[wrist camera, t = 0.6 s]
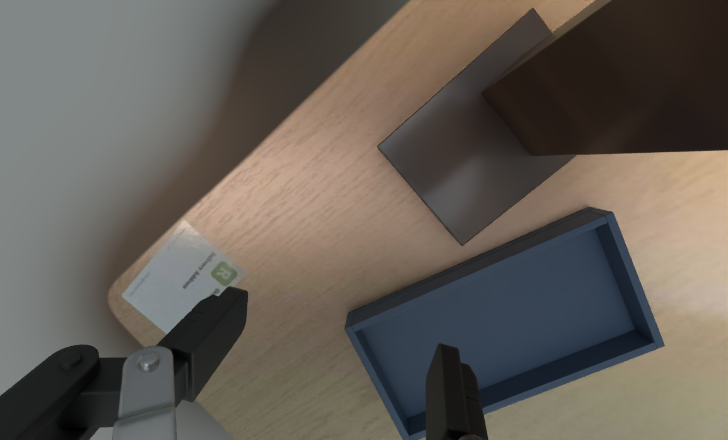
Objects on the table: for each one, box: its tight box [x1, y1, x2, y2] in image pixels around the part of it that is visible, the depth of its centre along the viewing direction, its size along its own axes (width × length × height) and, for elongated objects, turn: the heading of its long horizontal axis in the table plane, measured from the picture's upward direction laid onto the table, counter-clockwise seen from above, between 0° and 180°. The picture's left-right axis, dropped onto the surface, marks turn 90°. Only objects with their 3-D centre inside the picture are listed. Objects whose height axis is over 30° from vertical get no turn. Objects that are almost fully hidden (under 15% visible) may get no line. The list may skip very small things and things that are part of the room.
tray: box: [345, 207, 665, 440], centre depth 27 cm, size 21×11×3 cm, turn 116°
